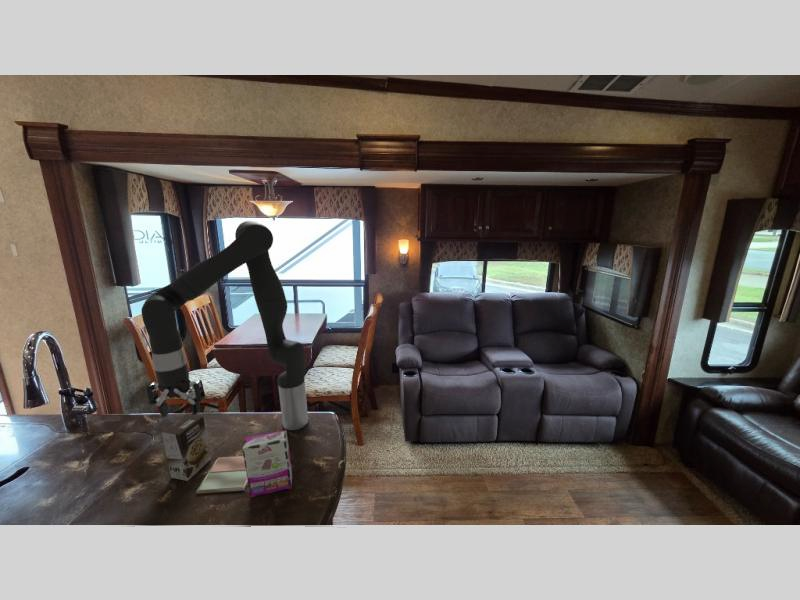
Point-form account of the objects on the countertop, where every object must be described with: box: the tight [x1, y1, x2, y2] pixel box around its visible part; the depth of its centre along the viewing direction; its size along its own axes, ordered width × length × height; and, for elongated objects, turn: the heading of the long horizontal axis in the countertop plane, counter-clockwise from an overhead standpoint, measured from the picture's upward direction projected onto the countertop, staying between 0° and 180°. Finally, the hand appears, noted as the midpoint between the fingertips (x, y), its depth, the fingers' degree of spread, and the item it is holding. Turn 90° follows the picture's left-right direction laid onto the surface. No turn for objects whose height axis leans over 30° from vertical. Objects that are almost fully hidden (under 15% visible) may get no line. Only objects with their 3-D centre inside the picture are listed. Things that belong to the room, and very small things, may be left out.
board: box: [195, 455, 248, 495], centre depth 95 cm, size 13×13×1 cm
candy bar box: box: [242, 429, 293, 498], centre depth 89 cm, size 11×5×16 cm, turn 106°
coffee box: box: [161, 414, 212, 482], centre depth 96 cm, size 9×6×16 cm
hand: (180, 414), depth 93 cm, fingers open, 8 cm apart
